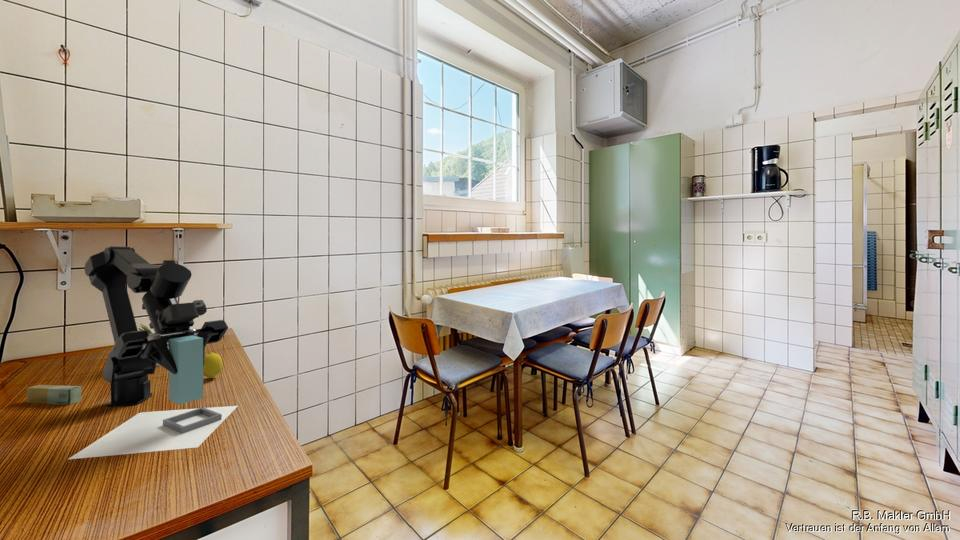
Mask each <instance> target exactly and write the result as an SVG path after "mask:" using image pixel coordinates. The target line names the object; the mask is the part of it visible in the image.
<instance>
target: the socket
mask: <svg viewBox="0 0 960 540" xmlns="http://www.w3.org/2000/svg"><path fill="white" fill-rule="evenodd" d="M198 408H199V407H198ZM206 408H207V407H203V406H202V407H200V408H199V409H197V408H194V409H195V410H192V411H189V412H186V413H183V414H180V415H177V416H174V417H170V418H167V419H164V420H163V426H165V427H168V428H170V429H172V430H174V431H177V432H179V433H181V434H183V433H185V432H188V431H191V430H194V429H197V428H199V427H202V426H205V425H208V424H210V423H213V422H216V421H219V420H222V414H220V413H217V412H214V411H212V410H209V409H206ZM199 414H203V415H206V416H208V417H209V418H206V419H203V420H200V421H197V422H194V423H191V424H188V425H186V426H182V425H179V424H177V423H175V422H178V421H181V420H184V419H187V418H190V417H193V416H196V415H199Z"/></svg>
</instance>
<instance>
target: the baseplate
mask: <svg viewBox="0 0 960 540" xmlns="http://www.w3.org/2000/svg"><path fill="white" fill-rule="evenodd" d="M205 408H206V409H209V410H212V411H214V412H217V413H220V414H222V420H219V421H216V422H213V423H210V424H208V425H205V426H202V427H199V428H197V429H194V430H191V431H188V432H185V433H183V434H181V433H179V432H177V431H174V430H172V429H170V428H168V427H165V426H163V420H164V419H167V418H170V417H174V416H177V415H180V414H183V413H186V412H189V411H192V410H195V409H199V407H198V408H186V409H185V408H184V409H183V408H182V409H170V410H157V411H156V410H155V411H143V412H138V413H136V414H135V415H134V416H132V417H130V418H129V419H127V420H126V421H125V422H123V423H122V424H120V425H118V426H116V427H115V428H114V429H112V430H110V431H109V432H108V433H106V434H104V435H103V436H101V437H100V438H98V439H96V440H95V441H93V442H92V443H91V444H89V445H87V446H86V447H84V448H83V449H81V450H80V451H78V452H77V453H76V454H74V455H72V456H70V457H69V458H67V460H76V459H87V458H98V457H99V458H101V457H108V456H110V457H111V456H121V455H132V454H133V455H135V454H141V453H143V454H144V453H154V452H164V451H166V452H167V451H176V450H184V449H185V450H187V449H196V448H197V449H198V448H199V447H200V446H201V444H203V443H204V442H205V441H206V440H207V438H208V437H209V436H211V434H212V433H213V432H214V431H215V430H216V429H217V428H218V427H219V426H221V424H222V423H223V422H224V421H225V420H226V419H227V418H228V417H229V416H230V415H232V413H233V412H234V410H236V409H237V408H238V405H230V406H213V407H205ZM206 418H209V417H208V416H206V415H203V414H199V415H196V416H193V417H190V418H187V419H184V420H181V421H178V422H175V423H177V424H179V425H182V426H186V425H188V424H191V423H194V422H197V421H200V420H203V419H206Z"/></svg>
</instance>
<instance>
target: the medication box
mask: <svg viewBox="0 0 960 540" xmlns="http://www.w3.org/2000/svg"><path fill="white" fill-rule="evenodd" d="M81 401H82V386H81V385H80V386H79V385H56V384H55V385H54V384H52V385H51V384H50V385H49V384H38V385H33V386H29V387H27V388H26V404H27V403H31V404H43V405H44V404H46V405H62V406H63V405H65V406H69V405H70V406H71V405H73V404H76V403H79V402H81Z"/></svg>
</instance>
